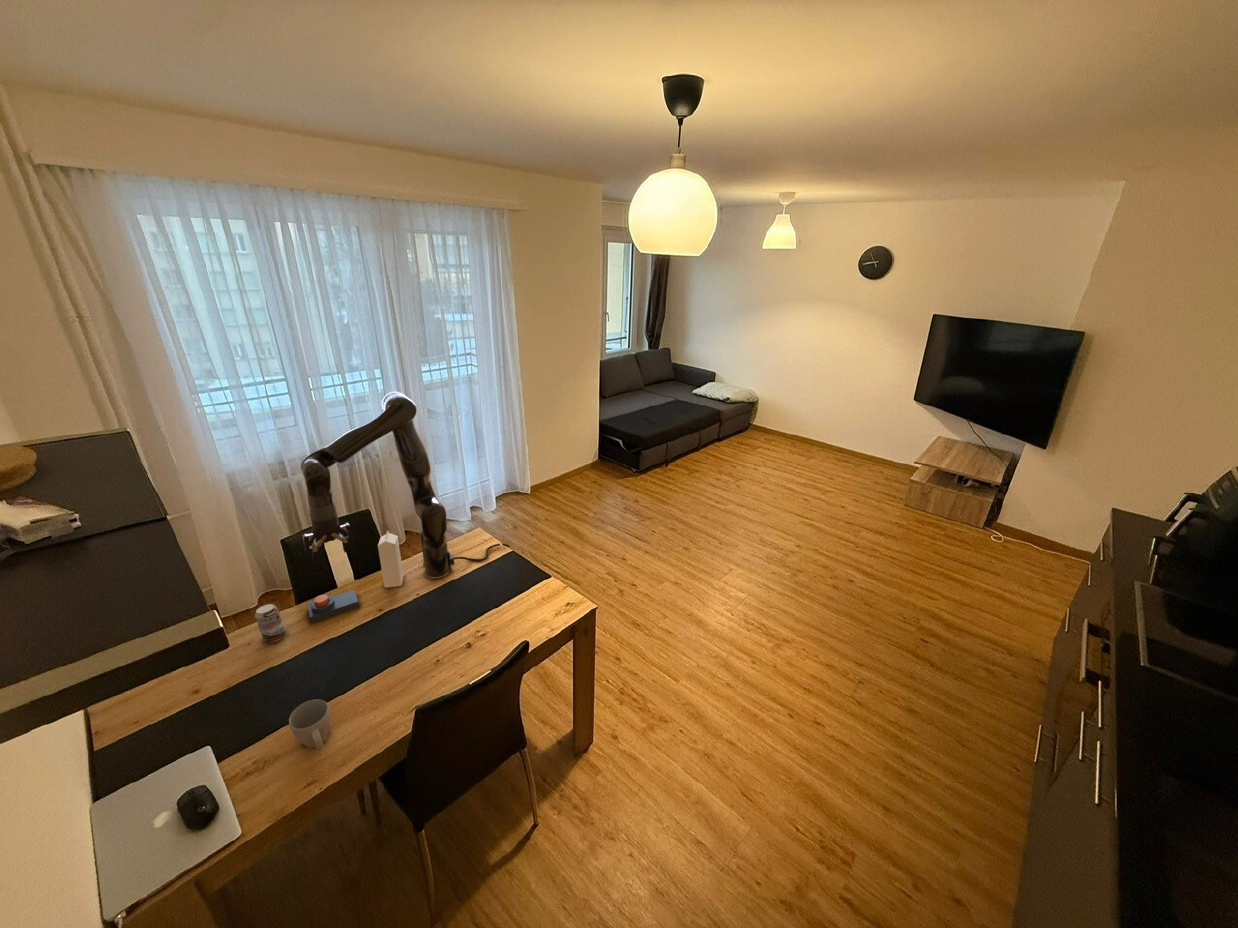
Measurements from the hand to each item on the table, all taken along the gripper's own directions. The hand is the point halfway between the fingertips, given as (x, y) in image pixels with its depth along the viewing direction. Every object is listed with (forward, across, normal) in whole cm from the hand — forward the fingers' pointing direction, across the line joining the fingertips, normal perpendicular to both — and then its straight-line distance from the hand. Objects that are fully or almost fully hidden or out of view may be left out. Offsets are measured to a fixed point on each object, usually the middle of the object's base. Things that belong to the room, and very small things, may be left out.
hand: (331, 555), depth 164 cm
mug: (+22, -19, -52) cm, 59 cm away
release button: (+18, -5, 0) cm, 19 cm away
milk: (+21, +19, +2) cm, 29 cm away
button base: (+22, -2, 0) cm, 22 cm away
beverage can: (+22, -21, -3) cm, 31 cm away
